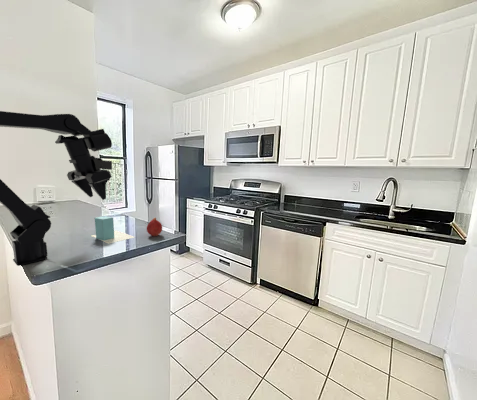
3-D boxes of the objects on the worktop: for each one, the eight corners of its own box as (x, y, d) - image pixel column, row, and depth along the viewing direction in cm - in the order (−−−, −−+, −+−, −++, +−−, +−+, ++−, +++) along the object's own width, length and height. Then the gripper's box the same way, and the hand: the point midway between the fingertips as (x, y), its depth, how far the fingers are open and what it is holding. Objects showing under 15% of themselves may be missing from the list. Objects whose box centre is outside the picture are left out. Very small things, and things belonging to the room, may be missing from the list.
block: (104, 240, 83) (102, 219, 82) (96, 238, 85) (94, 217, 84) (114, 237, 86) (113, 217, 85) (106, 235, 89) (105, 216, 88)
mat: (108, 245, 80) (108, 243, 80) (90, 237, 88) (90, 235, 88) (135, 238, 88) (135, 237, 88) (116, 231, 96) (116, 230, 96)
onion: (146, 239, 87) (145, 219, 85) (148, 235, 92) (147, 216, 91) (162, 238, 88) (161, 218, 87) (162, 234, 94) (162, 215, 92)
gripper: (118, 148, 75) (132, 191, 81) (91, 149, 85) (106, 188, 91) (83, 157, 67) (102, 204, 73) (58, 157, 77) (76, 198, 83)
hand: (97, 197), depth 80 cm, fingers open, 9 cm apart
